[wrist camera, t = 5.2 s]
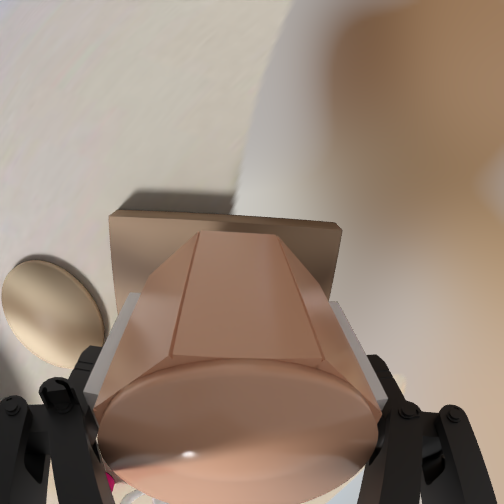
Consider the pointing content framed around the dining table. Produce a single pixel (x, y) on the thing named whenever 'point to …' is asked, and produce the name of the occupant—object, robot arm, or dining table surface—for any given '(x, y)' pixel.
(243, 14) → the dining table surface
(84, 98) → the dining table surface
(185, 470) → the peach faceted canister
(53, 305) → the coaster
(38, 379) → the dining table surface
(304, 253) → the board
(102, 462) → the robot arm
